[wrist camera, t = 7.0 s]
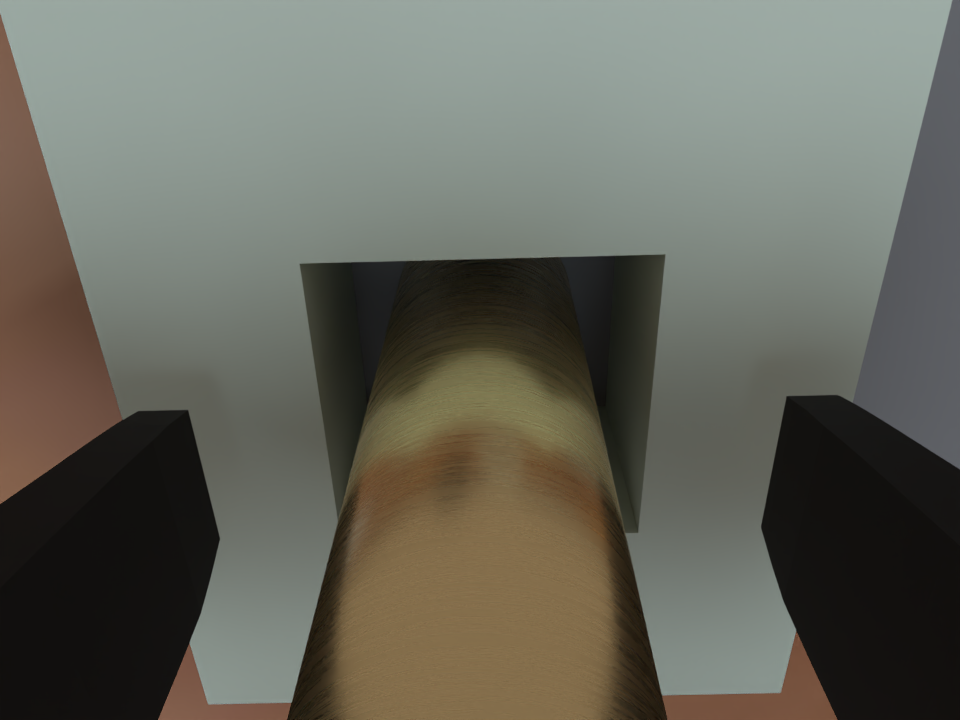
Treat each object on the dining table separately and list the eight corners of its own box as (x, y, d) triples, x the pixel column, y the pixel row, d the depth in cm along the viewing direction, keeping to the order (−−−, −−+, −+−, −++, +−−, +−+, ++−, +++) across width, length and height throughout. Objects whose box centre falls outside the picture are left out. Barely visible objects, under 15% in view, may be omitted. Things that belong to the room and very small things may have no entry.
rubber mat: (1101, 592, 18) (1116, 608, 18) (232, 610, 18) (227, 627, 18) (1506, -208, 11) (1550, -214, 10) (35, -165, 11) (18, -167, 10)
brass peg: (567, 372, 15) (687, 1052, 6) (404, 375, 15) (276, 1051, 6) (572, 214, 13) (743, 798, 4) (391, 218, 13) (195, 800, 4)
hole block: (725, 550, 17) (780, 693, 14) (256, 560, 17) (208, 704, 14) (837, -103, 11) (978, -107, 8) (112, -82, 11) (-27, -78, 8)
